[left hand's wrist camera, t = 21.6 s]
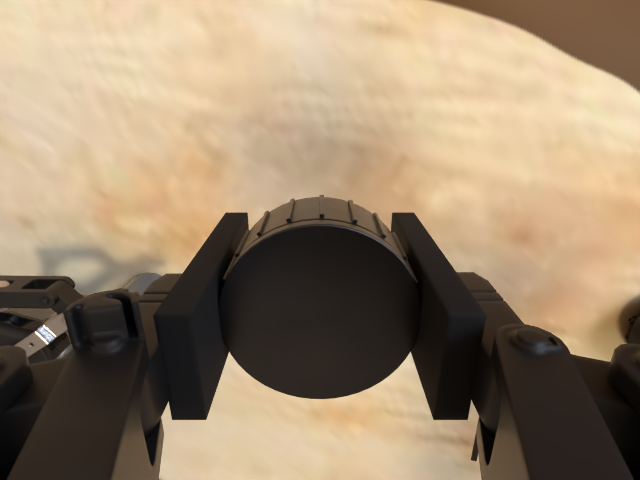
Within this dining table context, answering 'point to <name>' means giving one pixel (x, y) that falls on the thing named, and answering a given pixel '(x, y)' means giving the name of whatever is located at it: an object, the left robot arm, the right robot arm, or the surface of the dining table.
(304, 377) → the lid
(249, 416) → the dining table surface
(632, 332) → the shoe
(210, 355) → the left robot arm
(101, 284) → the dining table surface
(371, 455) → the dining table surface
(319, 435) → the dining table surface
